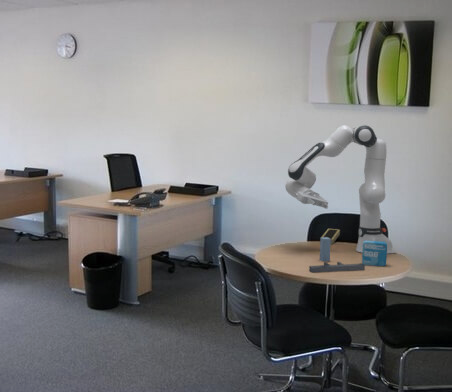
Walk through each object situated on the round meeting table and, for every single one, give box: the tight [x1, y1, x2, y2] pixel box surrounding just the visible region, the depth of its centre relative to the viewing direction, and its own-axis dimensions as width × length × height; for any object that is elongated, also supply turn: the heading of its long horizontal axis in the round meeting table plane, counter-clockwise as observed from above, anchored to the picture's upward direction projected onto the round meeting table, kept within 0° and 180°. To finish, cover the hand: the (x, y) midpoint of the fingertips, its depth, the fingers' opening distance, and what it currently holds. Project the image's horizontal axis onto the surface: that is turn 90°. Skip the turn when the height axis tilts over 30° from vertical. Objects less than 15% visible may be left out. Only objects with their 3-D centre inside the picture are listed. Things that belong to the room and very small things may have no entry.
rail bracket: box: [308, 261, 366, 273], centre depth 264 cm, size 28×8×2 cm, turn 103°
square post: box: [319, 237, 332, 263], centre depth 280 cm, size 4×4×12 cm
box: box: [320, 228, 341, 245], centre depth 328 cm, size 8×22×5 cm, turn 156°
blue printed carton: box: [361, 240, 388, 267], centre depth 274 cm, size 12×4×12 cm, turn 75°
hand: (320, 205), depth 288 cm, fingers open, 8 cm apart
